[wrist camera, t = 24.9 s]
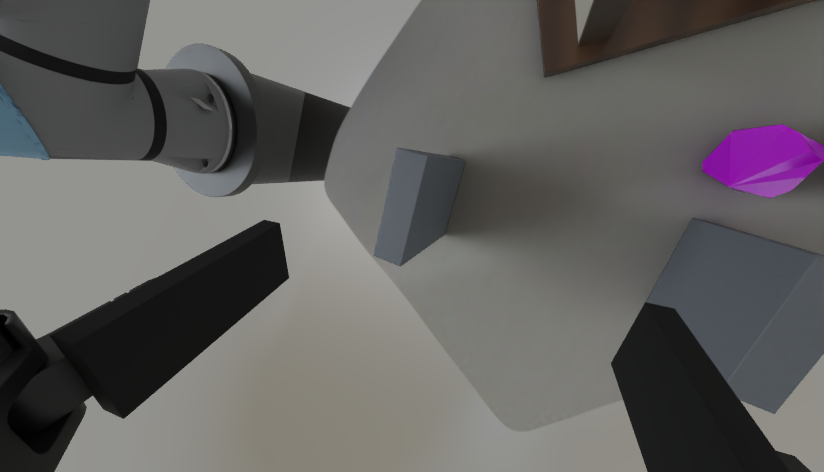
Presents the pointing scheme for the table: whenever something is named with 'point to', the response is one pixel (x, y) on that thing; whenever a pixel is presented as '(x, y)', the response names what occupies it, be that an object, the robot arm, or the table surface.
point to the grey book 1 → (417, 203)
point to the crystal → (764, 160)
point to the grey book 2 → (748, 307)
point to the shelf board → (639, 27)
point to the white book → (598, 19)
